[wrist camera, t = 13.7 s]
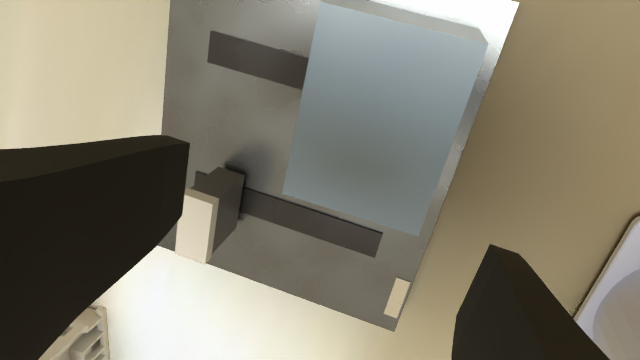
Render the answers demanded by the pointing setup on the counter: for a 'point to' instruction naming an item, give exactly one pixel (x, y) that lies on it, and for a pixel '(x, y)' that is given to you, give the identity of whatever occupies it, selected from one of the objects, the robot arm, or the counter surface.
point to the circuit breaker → (82, 338)
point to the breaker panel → (276, 140)
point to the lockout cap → (380, 110)
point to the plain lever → (209, 214)
